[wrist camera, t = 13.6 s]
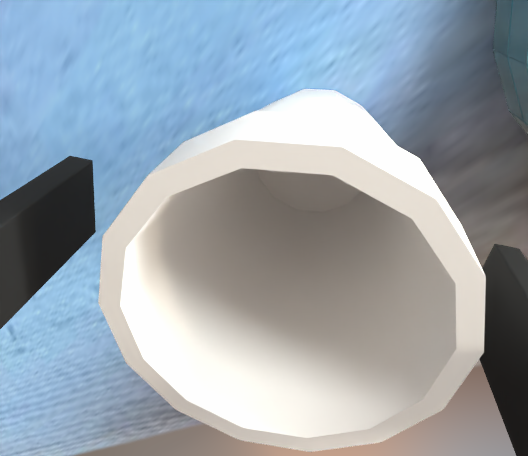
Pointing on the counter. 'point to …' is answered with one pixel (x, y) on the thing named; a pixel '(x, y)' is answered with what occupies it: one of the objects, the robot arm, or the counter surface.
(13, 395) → the counter surface
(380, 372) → the foam cup
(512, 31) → the bowl
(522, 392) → the robot arm
